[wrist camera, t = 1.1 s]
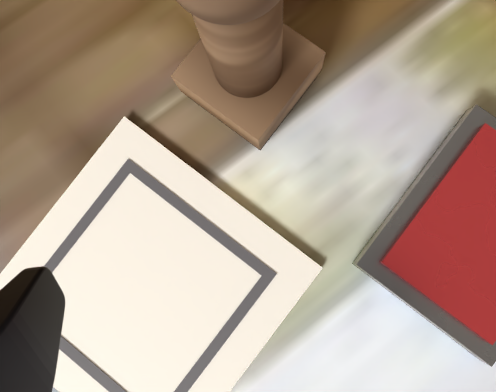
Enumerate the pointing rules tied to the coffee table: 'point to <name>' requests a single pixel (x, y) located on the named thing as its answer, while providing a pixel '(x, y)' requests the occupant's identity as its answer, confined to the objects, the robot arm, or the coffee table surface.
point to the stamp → (247, 65)
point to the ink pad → (446, 239)
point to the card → (159, 274)
